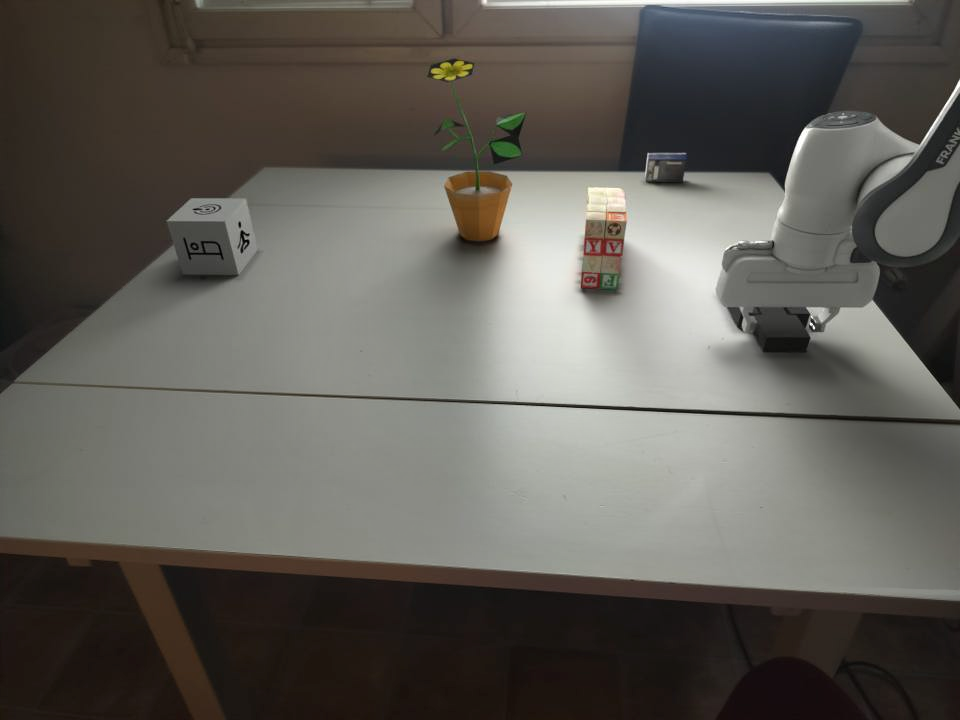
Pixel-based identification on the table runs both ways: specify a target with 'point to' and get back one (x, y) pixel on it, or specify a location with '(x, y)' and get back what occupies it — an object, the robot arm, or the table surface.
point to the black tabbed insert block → (780, 331)
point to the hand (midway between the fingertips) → (781, 330)
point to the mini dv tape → (665, 167)
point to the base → (738, 317)
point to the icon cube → (213, 236)
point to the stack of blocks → (603, 238)
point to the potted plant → (477, 192)
